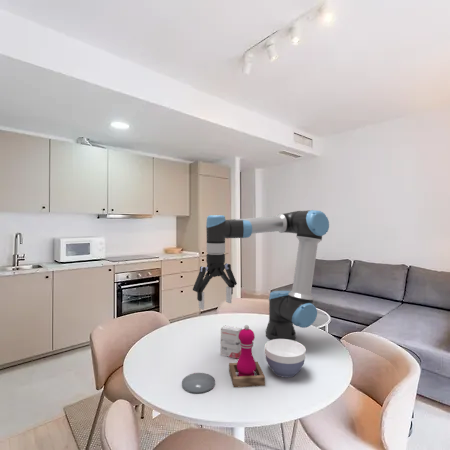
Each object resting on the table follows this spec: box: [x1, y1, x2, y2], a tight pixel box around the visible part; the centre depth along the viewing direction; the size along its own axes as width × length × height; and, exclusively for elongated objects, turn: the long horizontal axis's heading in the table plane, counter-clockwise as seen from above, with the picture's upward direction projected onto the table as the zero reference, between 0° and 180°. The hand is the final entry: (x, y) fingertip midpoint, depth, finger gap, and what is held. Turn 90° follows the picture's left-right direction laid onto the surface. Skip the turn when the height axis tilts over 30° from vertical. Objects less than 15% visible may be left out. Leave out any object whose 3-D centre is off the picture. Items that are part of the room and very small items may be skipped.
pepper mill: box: [236, 324, 256, 377], centre depth 109 cm, size 7×7×20 cm
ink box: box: [220, 325, 243, 360], centre depth 127 cm, size 9×5×12 cm, turn 65°
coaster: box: [181, 372, 216, 395], centre depth 105 cm, size 12×12×1 cm
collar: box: [228, 361, 266, 388], centre depth 109 cm, size 12×12×3 cm
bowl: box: [264, 339, 307, 378], centre depth 114 cm, size 16×16×10 cm
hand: (215, 305), depth 117 cm, fingers open, 13 cm apart
